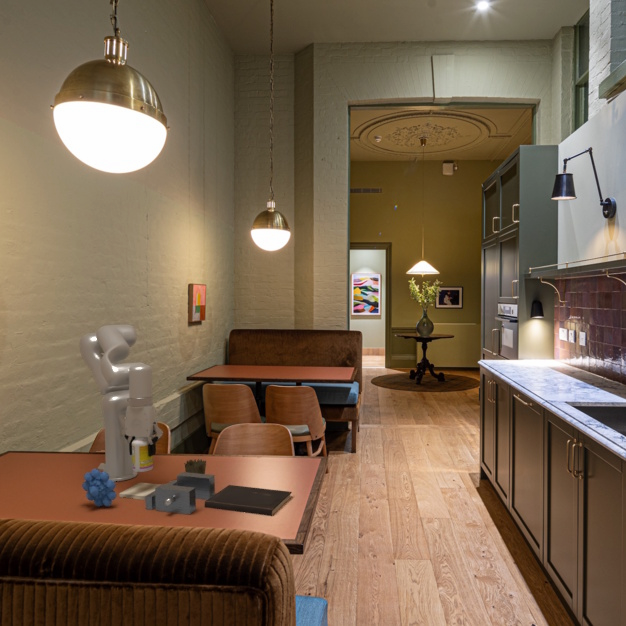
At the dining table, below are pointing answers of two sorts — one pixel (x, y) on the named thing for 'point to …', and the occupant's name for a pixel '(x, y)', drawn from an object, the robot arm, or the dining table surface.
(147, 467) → the supplement bottle
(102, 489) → the grapes
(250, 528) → the dining table surface
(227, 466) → the dining table surface
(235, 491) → the hardcover book
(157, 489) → the vise
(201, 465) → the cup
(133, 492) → the birch board
